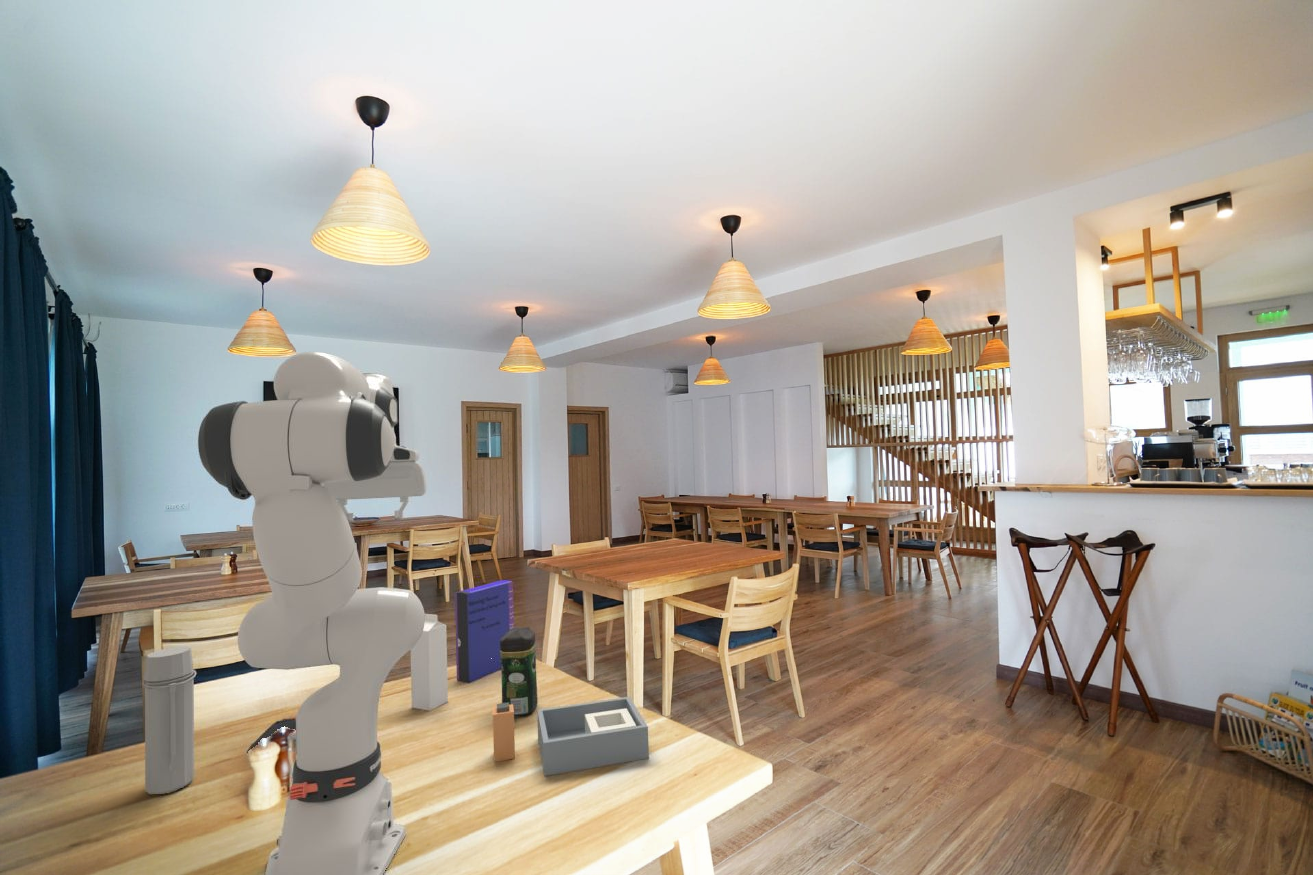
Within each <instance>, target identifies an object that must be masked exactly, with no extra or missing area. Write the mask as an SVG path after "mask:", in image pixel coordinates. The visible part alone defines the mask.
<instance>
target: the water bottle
mask: <svg viewBox="0 0 1313 875" xmlns="http://www.w3.org/2000/svg"><path fill="white" fill-rule="evenodd" d="M143 675H144V676H143V681H142V682H141V684H142V686H143V687H144V698H145V699H144V701H145V702H144V754H145V756H144V776H145V777H144V780H145V781H144V786H145V787H144V789H145V790H144V791H145V792H146V793H147V792H148V793H147V794H149V795H151V794H164V793H167V792H172V793H174V792H177V791H178V789H179V790H181V789H180V788H182V789H183V788H185V787H187V786H188V785H189V784H190V783H191V782H192V781H193V779H194V777H195V715H194V714H195V711H194V710H195V703H194V702H195V701H194V700H195V697H194V696H195V693H194V690H195V689H194V688H195V687H194V684H195V683H194V682H195V681H194V679H195V678H196V675H197V671H196V669H194V663H193V656H192V649H191V647H190V646H175V647H168V648H164V649H159V650H156V651H153V652H150V653H148V654H147V655H146V658H145V665H144V674H143ZM184 786H185V787H184ZM176 790H177V791H176ZM173 791H174V792H173ZM164 795H165V794H164Z"/></svg>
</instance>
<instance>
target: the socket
mask: <svg viewBox="0 0 1313 875" xmlns="http://www.w3.org/2000/svg"><path fill="white" fill-rule="evenodd" d="M634 726H636V724H635V722H634V721H633V719H632V717H631V715H630V714H629V712H628V710H627V708H625V709H618V710H612V711H605V712H598V713H591V714H585V734H590V733H596V732H602V731H609V730H615V729H621V728H628V727H634Z"/></svg>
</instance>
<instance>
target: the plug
mask: <svg viewBox="0 0 1313 875" xmlns="http://www.w3.org/2000/svg"><path fill="white" fill-rule="evenodd" d="M492 729H493V730H492V732H493V733H492V734H493V737H492V738H493V762H494V763H495V762H500V761H506V760H512V759H515V758H516V749H515V748H516V746H515V745H516V744H515V717H514V709H513V704H511V705H509V702H508V703H502V702H501V703H496V706H493V707H492Z"/></svg>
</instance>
